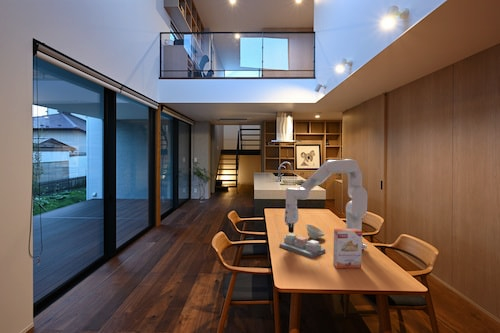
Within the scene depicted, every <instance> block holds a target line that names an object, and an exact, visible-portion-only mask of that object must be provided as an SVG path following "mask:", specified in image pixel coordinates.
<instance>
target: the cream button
mask: <svg viewBox="0 0 500 333" xmlns="http://www.w3.org/2000/svg"><path fill="white" fill-rule="evenodd" d="M307 241H308V245H310V246H313V247H316V246H318V245H319V244H320V241H317V240H316V239H310V240H307Z"/></svg>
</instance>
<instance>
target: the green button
mask: <svg viewBox="0 0 500 333" xmlns="http://www.w3.org/2000/svg"><path fill="white" fill-rule="evenodd" d="M285 237H286V238H288V239H291V240H293V239H295V238H296V237H297V234H294V233H290V232H289V234H286V236H285Z"/></svg>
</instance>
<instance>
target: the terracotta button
mask: <svg viewBox="0 0 500 333" xmlns="http://www.w3.org/2000/svg"><path fill="white" fill-rule="evenodd" d="M296 241H297V242H300V243H305V242H307V241H308V237H304V236H297V238H296Z"/></svg>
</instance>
